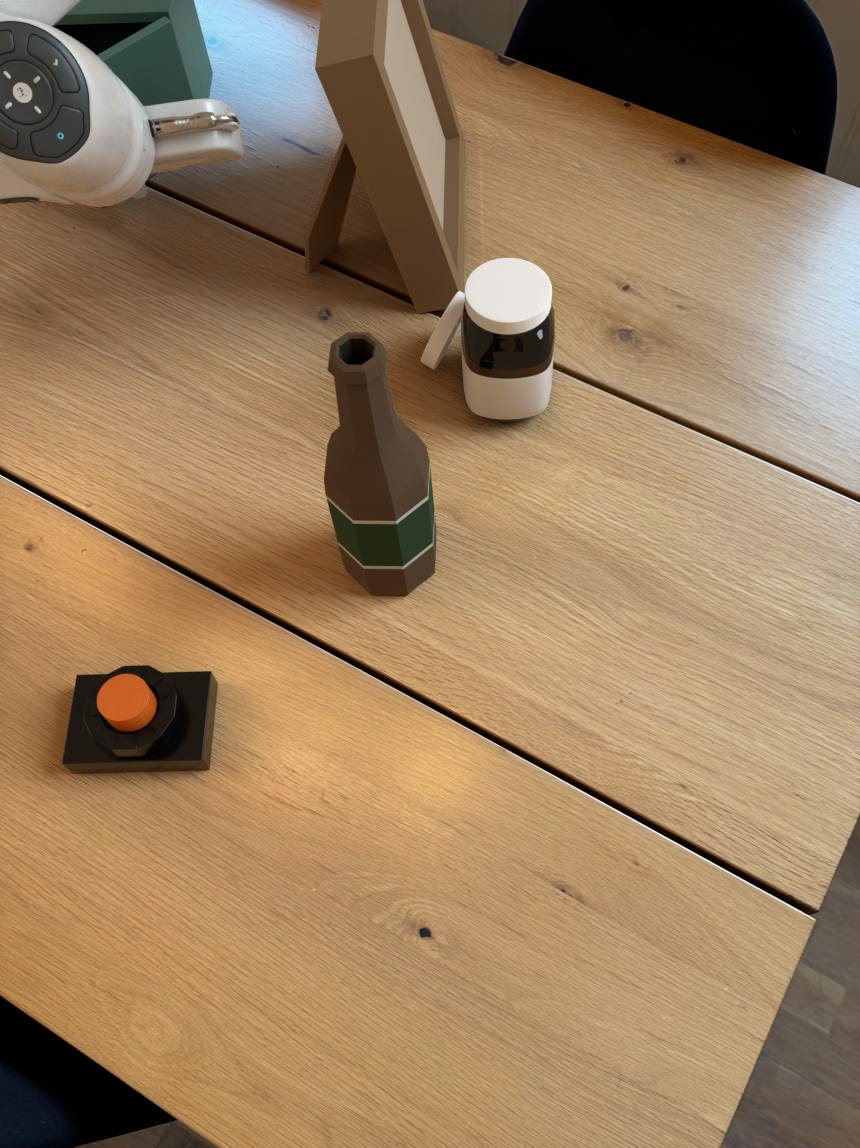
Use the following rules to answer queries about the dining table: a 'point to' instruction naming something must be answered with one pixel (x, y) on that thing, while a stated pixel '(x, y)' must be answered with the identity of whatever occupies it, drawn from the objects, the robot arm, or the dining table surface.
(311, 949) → the dining table surface
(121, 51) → the fridge door
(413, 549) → the beer bottle
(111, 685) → the orange button
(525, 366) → the spread jar
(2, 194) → the robot arm
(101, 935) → the dining table surface
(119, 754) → the button panel
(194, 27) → the minifridge
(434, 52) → the photo frame
